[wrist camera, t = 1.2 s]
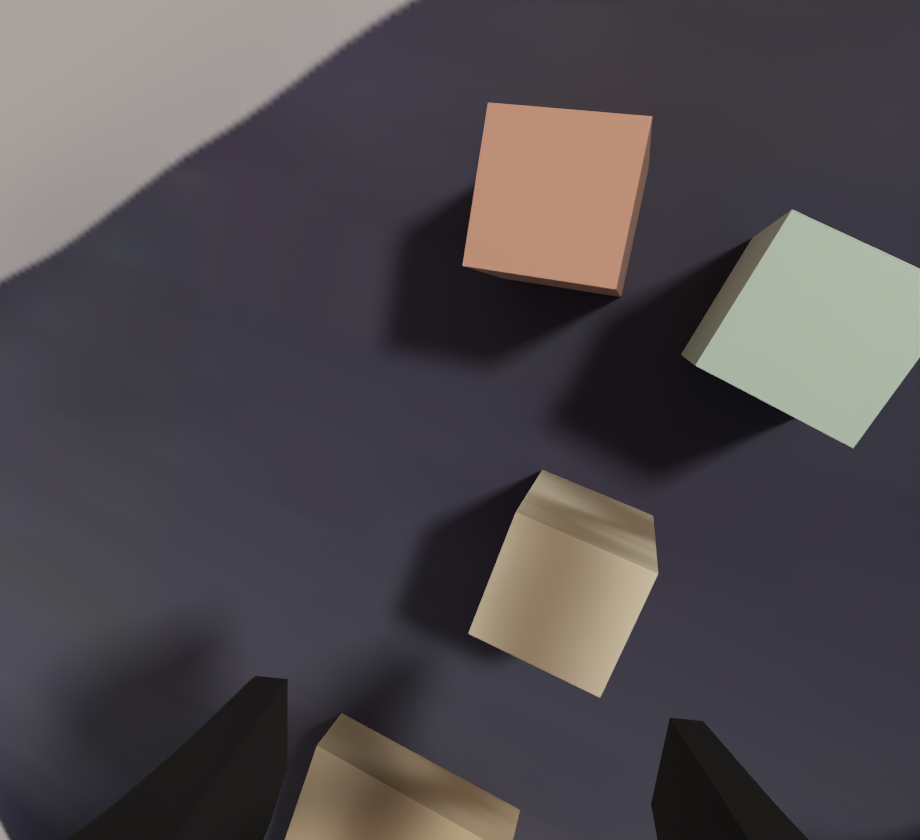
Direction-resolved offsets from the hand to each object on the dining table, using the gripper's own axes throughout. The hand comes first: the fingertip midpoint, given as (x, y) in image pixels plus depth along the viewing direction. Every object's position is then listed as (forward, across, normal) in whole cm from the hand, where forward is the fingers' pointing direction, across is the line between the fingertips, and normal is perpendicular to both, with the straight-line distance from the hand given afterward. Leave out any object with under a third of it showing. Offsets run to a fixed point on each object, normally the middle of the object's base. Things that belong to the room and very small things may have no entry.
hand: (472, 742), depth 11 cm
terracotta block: (+12, -2, -10) cm, 15 cm away
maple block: (+10, -4, +1) cm, 11 cm away
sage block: (+10, -8, -7) cm, 15 cm away
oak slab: (+11, +2, +15) cm, 19 cm away
